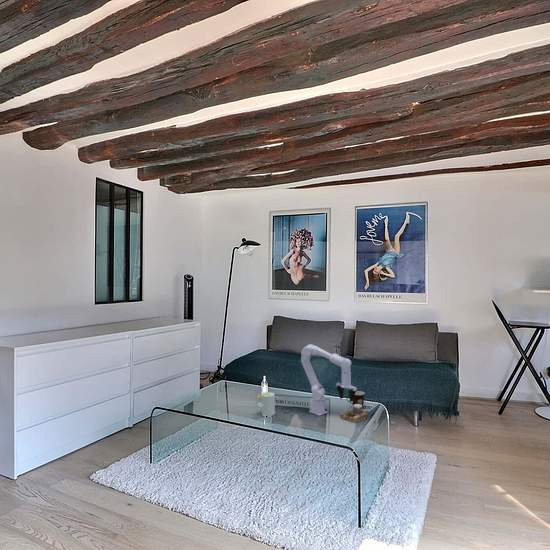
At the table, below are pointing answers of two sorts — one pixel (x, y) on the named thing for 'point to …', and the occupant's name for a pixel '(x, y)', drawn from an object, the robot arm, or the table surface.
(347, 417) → the socket board
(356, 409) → the plug
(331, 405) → the table surface
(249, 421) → the table surface
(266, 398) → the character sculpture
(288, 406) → the table surface
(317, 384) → the robot arm
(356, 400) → the coffee mug
